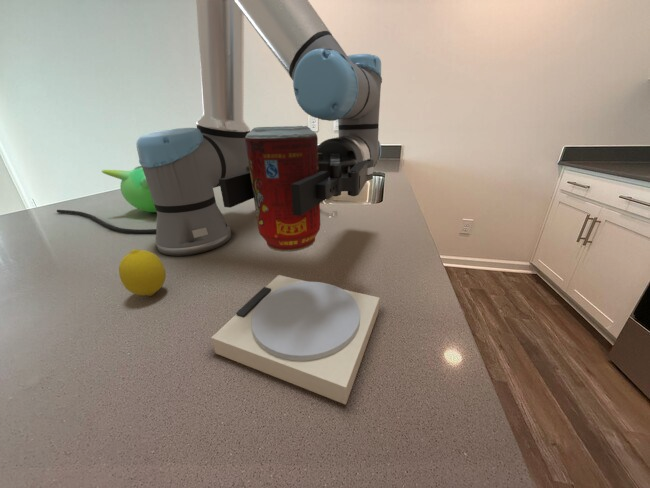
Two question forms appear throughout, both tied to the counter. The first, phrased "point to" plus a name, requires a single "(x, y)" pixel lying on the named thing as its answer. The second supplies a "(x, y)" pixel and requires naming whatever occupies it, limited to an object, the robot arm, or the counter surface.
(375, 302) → the kitchen scale
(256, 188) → the soda can
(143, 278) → the lemon
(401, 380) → the counter surface
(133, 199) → the toy bird
